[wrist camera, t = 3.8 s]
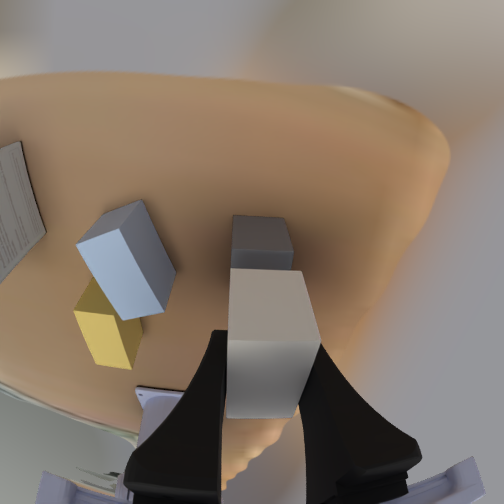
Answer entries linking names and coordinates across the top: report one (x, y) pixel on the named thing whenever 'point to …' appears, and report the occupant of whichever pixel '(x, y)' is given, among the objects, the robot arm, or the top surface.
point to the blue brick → (129, 261)
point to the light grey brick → (268, 343)
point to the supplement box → (16, 210)
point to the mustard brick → (107, 329)
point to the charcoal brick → (261, 243)
